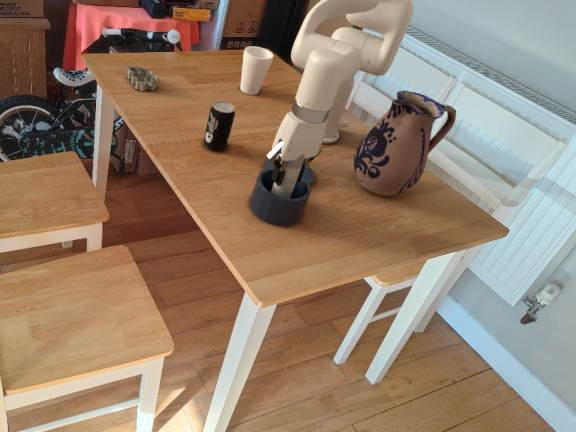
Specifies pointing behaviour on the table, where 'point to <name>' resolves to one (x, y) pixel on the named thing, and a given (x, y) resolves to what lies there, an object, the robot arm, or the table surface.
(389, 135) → the ceramic pitcher
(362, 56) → the robot arm
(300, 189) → the tin
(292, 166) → the container
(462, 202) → the table surface
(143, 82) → the egg carton
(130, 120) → the table surface
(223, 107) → the beverage can
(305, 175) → the lid
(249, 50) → the foam cup
